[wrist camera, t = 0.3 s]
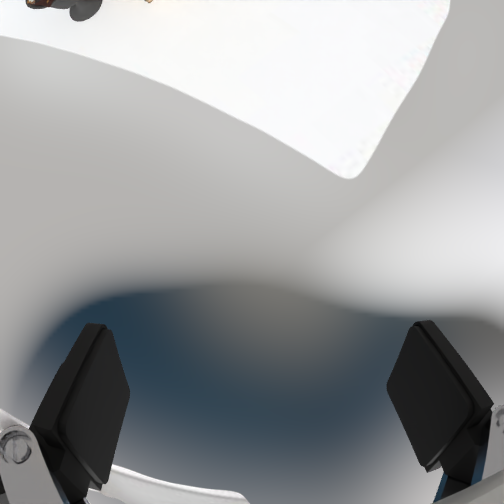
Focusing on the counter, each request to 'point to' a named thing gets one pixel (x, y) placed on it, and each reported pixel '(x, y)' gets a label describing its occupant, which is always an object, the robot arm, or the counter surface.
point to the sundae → (80, 3)
